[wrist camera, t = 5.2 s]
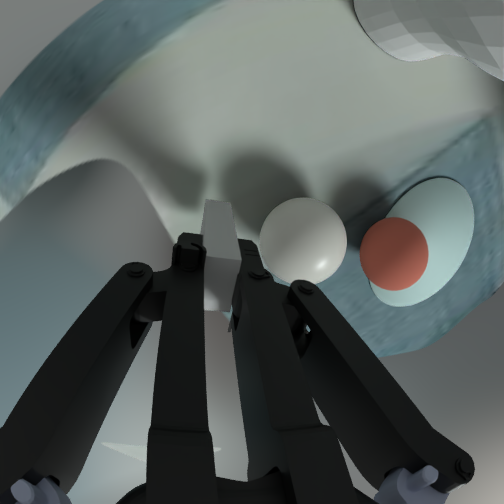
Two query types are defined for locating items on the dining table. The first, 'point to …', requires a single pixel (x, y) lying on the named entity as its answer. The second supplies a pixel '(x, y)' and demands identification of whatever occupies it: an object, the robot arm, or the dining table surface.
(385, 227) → the object ball
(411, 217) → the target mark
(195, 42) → the dining table surface
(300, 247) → the cue ball
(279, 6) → the dining table surface
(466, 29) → the cup
